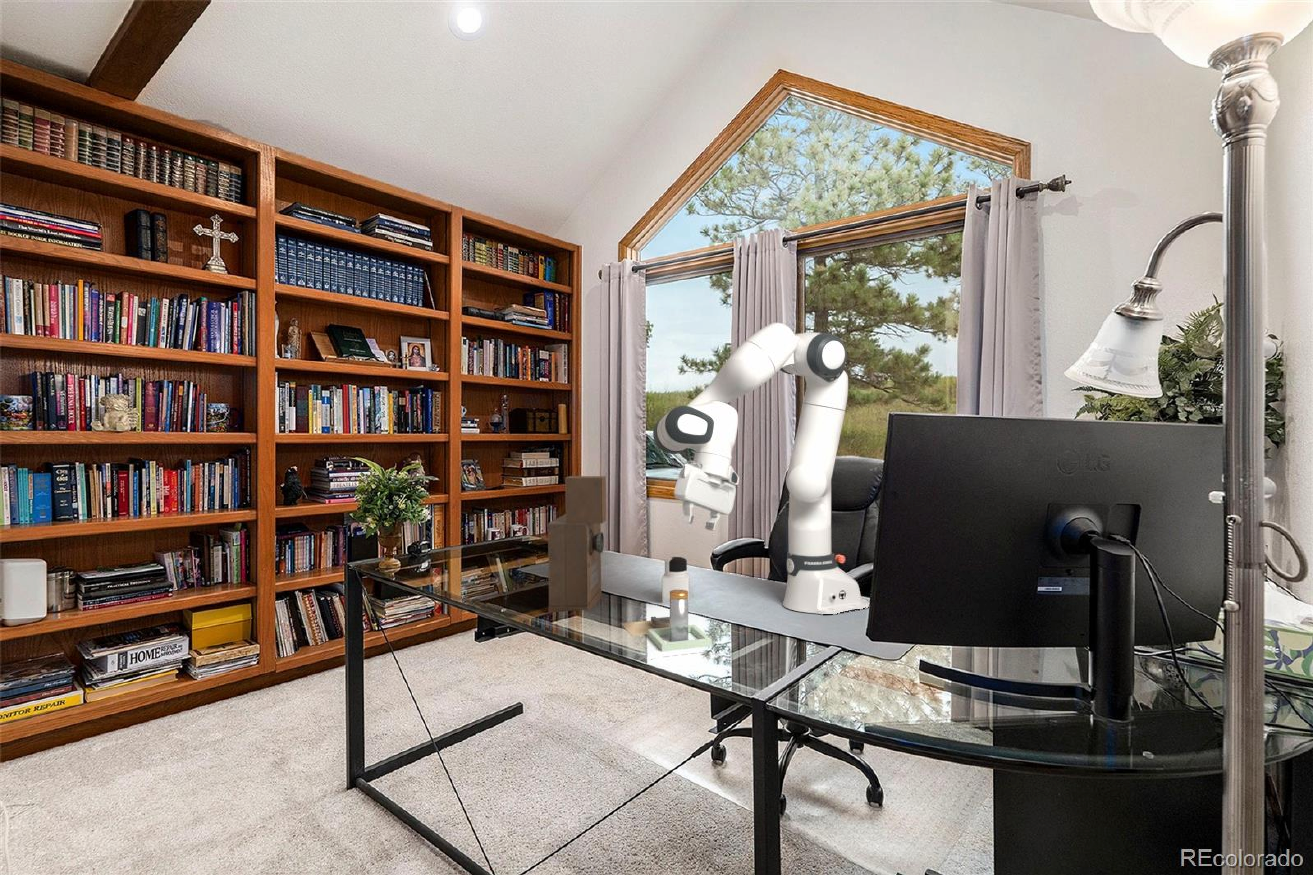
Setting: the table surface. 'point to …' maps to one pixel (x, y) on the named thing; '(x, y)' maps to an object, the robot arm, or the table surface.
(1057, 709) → the table surface
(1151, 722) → the table surface
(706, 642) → the tray
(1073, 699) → the table surface
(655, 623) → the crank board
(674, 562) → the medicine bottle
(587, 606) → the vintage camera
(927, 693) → the table surface
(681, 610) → the glass spice jar
